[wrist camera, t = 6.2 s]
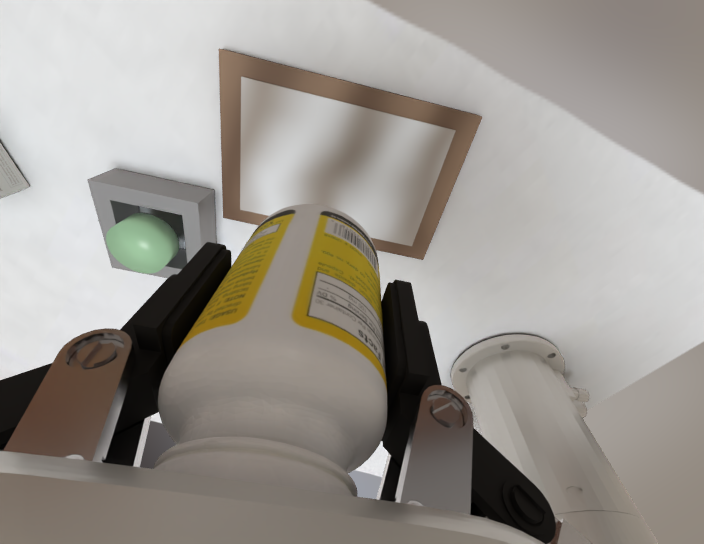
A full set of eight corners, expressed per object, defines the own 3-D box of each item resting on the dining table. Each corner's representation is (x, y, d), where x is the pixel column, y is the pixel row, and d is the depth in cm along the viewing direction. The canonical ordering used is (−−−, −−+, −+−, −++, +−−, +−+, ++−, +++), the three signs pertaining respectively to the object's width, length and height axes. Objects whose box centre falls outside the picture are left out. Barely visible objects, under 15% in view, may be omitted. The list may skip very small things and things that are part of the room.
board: (478, 115, 22) (483, 117, 21) (421, 255, 28) (423, 260, 28) (223, 49, 20) (217, 48, 19) (226, 213, 27) (222, 218, 26)
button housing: (214, 189, 26) (197, 203, 23) (217, 266, 30) (204, 284, 28) (115, 168, 25) (87, 179, 22) (133, 250, 29) (112, 267, 27)
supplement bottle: (258, 303, 14) (120, 605, 6) (244, 193, 11) (-53, 506, 3) (371, 313, 15) (376, 625, 6) (388, 206, 11) (436, 546, 3)
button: (176, 219, 24) (162, 230, 22) (181, 264, 26) (169, 278, 25) (118, 207, 24) (99, 218, 22) (129, 254, 26) (113, 267, 24)
